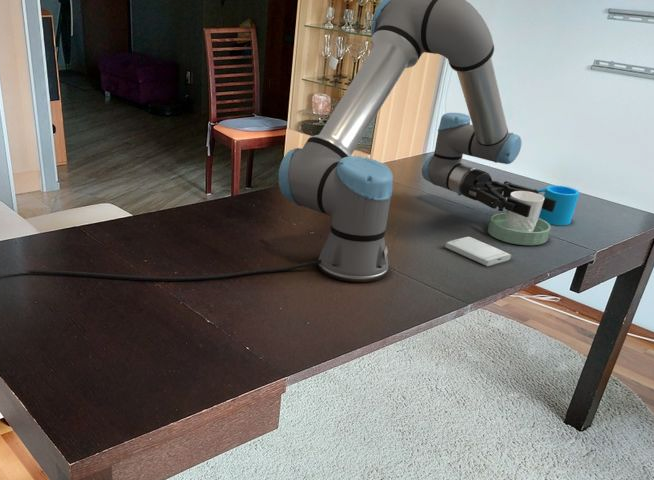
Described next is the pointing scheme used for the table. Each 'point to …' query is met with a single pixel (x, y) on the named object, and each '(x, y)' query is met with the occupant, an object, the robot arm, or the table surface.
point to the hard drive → (478, 251)
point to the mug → (560, 204)
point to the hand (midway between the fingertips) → (541, 208)
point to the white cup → (528, 223)
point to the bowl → (518, 237)
